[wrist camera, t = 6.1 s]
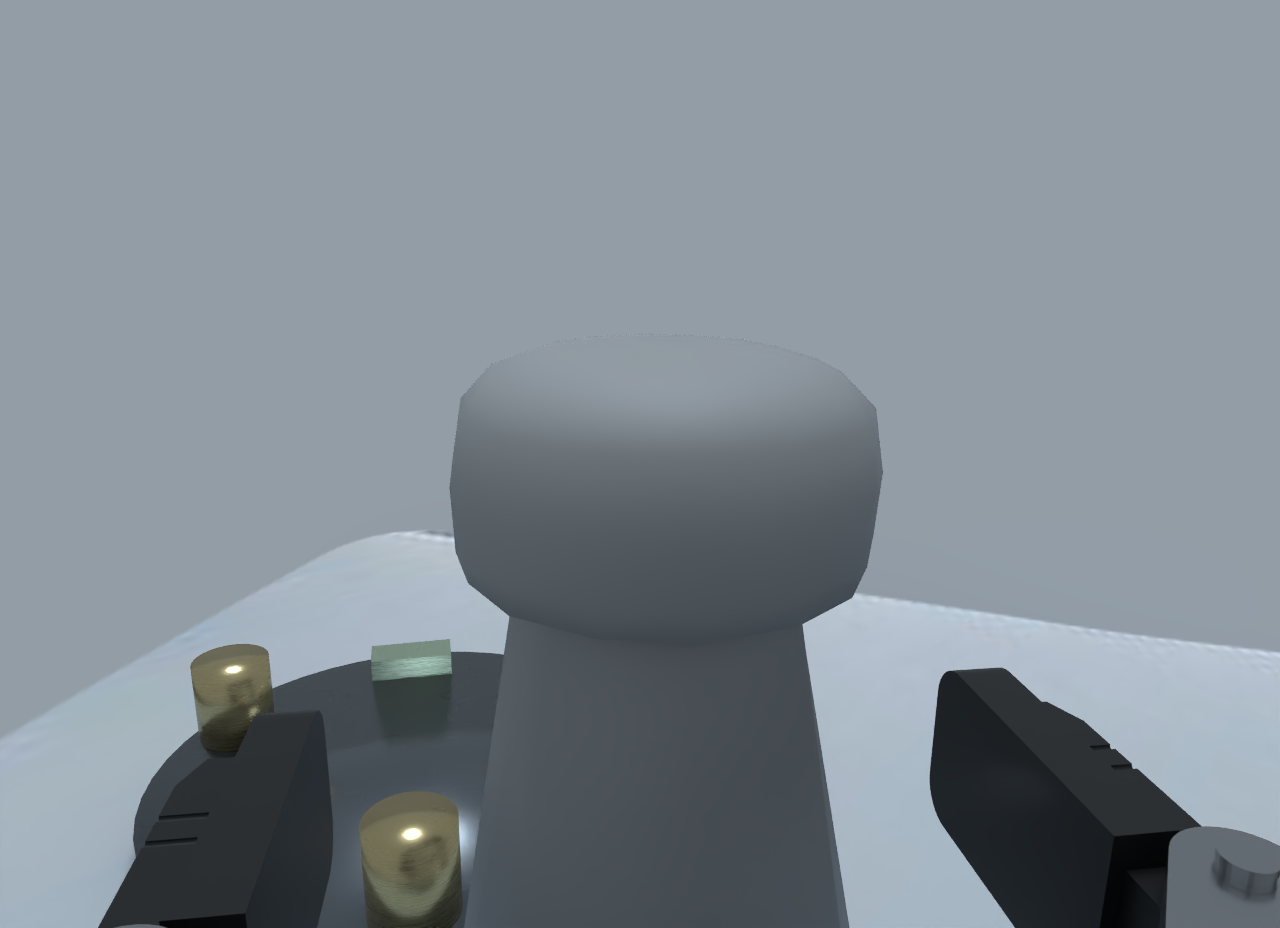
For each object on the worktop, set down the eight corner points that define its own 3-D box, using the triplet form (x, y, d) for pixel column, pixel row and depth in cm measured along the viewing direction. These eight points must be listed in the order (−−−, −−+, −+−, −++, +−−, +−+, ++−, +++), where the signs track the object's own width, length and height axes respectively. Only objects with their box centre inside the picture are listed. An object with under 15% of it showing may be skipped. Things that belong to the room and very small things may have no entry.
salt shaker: (848, 1133, 15) (917, 317, 12) (921, 1654, 10) (1087, 419, 6) (488, 1105, 16) (453, 309, 12) (365, 1589, 10) (239, 398, 7)
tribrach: (609, 669, 30) (609, 575, 30) (728, 949, 19) (733, 809, 18) (200, 711, 28) (188, 609, 27) (60, 1064, 17) (30, 907, 16)
